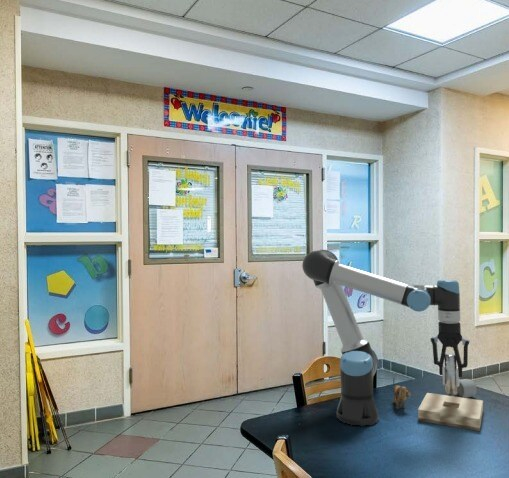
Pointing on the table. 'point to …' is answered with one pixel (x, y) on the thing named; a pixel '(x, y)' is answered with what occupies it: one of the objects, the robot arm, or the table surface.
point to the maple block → (451, 411)
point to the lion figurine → (400, 395)
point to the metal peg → (450, 374)
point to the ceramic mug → (466, 388)
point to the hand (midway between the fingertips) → (451, 384)
